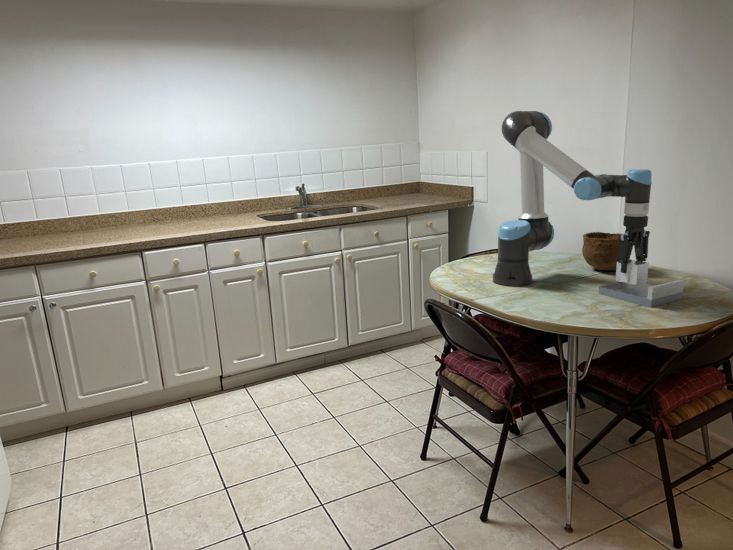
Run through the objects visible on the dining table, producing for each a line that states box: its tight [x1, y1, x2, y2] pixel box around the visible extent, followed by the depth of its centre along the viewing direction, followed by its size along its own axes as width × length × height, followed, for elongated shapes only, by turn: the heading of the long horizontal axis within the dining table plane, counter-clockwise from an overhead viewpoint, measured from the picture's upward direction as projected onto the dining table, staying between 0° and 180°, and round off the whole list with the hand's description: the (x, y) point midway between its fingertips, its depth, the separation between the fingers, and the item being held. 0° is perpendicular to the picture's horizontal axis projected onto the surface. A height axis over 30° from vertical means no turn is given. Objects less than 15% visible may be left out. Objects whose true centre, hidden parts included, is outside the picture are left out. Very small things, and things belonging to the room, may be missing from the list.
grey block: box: [615, 258, 649, 285], centre depth 190 cm, size 6×8×8 cm
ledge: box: [598, 279, 685, 308], centre depth 189 cm, size 17×20×6 cm
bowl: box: [581, 231, 620, 272], centre depth 226 cm, size 19×19×15 cm
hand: (630, 280), depth 191 cm, fingers closed on grey block, 6 cm apart
